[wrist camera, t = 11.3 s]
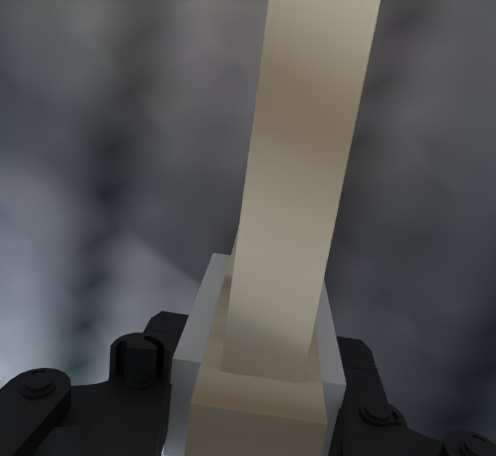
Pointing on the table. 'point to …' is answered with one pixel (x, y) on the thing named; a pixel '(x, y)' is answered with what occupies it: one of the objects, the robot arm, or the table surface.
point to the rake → (284, 237)
